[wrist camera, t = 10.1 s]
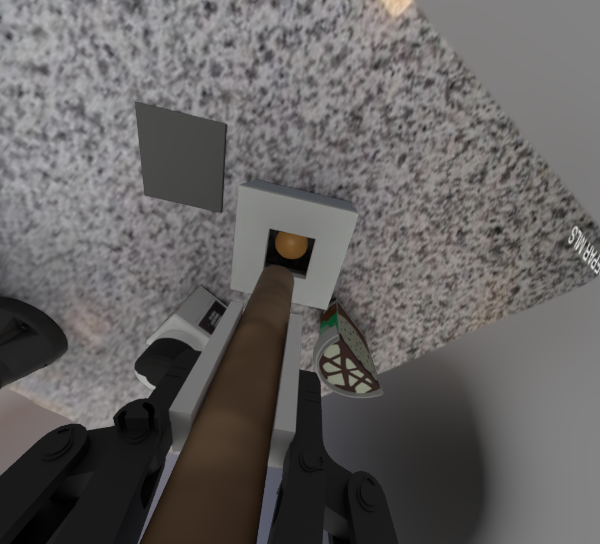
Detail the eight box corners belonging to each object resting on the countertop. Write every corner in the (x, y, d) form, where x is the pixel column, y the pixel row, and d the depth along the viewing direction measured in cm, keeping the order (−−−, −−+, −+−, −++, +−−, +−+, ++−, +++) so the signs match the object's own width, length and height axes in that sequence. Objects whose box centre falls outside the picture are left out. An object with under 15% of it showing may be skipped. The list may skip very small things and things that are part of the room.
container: (201, 284, 35) (144, 345, 23) (238, 314, 37) (203, 383, 26) (174, 309, 38) (112, 376, 26) (211, 336, 40) (168, 408, 28)
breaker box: (246, 264, 33) (230, 289, 27) (256, 179, 27) (238, 185, 21) (324, 281, 33) (326, 310, 27) (349, 201, 28) (359, 213, 22)
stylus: (257, 291, 20) (142, 568, 6) (262, 261, 18) (129, 533, 5) (290, 298, 20) (246, 583, 6) (297, 269, 19) (260, 552, 5)
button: (276, 247, 31) (272, 255, 28) (281, 219, 29) (278, 224, 26) (304, 253, 31) (303, 262, 28) (311, 225, 29) (310, 232, 27)
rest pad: (146, 194, 29) (144, 195, 29) (137, 102, 25) (134, 101, 24) (222, 212, 30) (220, 212, 29) (226, 124, 25) (225, 124, 25)
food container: (298, 308, 36) (293, 357, 27) (331, 290, 34) (336, 336, 25) (338, 354, 40) (344, 410, 31) (368, 341, 38) (385, 396, 29)
